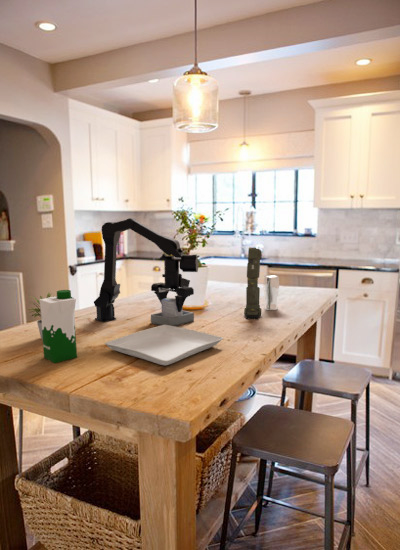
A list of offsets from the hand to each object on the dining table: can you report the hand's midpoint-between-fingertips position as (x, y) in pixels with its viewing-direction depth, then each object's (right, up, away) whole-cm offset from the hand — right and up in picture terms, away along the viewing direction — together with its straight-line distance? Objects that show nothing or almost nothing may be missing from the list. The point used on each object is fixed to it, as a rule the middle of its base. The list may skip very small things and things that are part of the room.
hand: (172, 310), depth 161 cm
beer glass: (+43, -2, +24) cm, 49 cm away
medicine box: (0, -4, +1) cm, 4 cm away
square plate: (0, -10, -32) cm, 34 cm away
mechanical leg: (+33, -3, +11) cm, 35 cm away
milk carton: (-31, -11, -40) cm, 51 cm away
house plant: (-43, -8, -19) cm, 47 cm away
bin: (0, -5, +1) cm, 5 cm away
